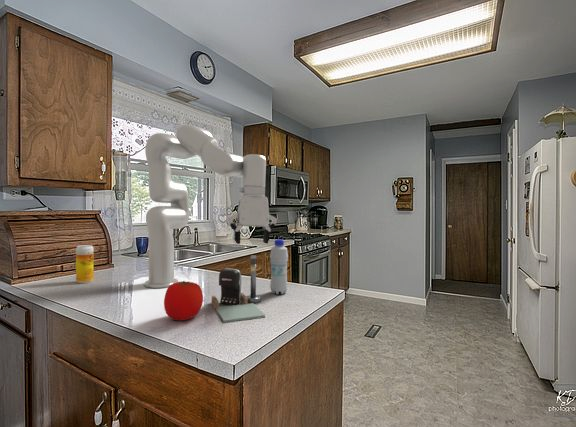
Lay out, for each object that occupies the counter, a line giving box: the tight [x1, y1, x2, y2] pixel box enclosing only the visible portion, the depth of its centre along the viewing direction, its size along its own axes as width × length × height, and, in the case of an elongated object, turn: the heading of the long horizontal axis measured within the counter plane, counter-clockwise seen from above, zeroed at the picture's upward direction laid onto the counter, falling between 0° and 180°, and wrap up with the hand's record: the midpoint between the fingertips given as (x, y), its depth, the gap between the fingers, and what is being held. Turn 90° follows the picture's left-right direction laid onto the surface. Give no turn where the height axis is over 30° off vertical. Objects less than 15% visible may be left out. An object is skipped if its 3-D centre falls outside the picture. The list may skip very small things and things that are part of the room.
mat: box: [215, 303, 266, 324], centre depth 95 cm, size 12×12×1 cm
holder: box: [211, 292, 248, 310], centre depth 103 cm, size 7×10×2 cm
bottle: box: [269, 238, 289, 295], centre depth 117 cm, size 7×7×20 cm
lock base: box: [245, 294, 262, 305], centre depth 106 cm, size 5×5×2 cm
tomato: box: [163, 280, 204, 321], centre depth 90 cm, size 10×11×11 cm
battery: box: [218, 268, 242, 306], centre depth 103 cm, size 7×4×11 cm, turn 70°
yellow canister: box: [75, 244, 95, 285], centre depth 130 cm, size 6×6×15 cm
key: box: [249, 254, 257, 298], centre depth 103 cm, size 2×13×14 cm, turn 5°
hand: (252, 243), depth 106 cm, fingers open, 9 cm apart
